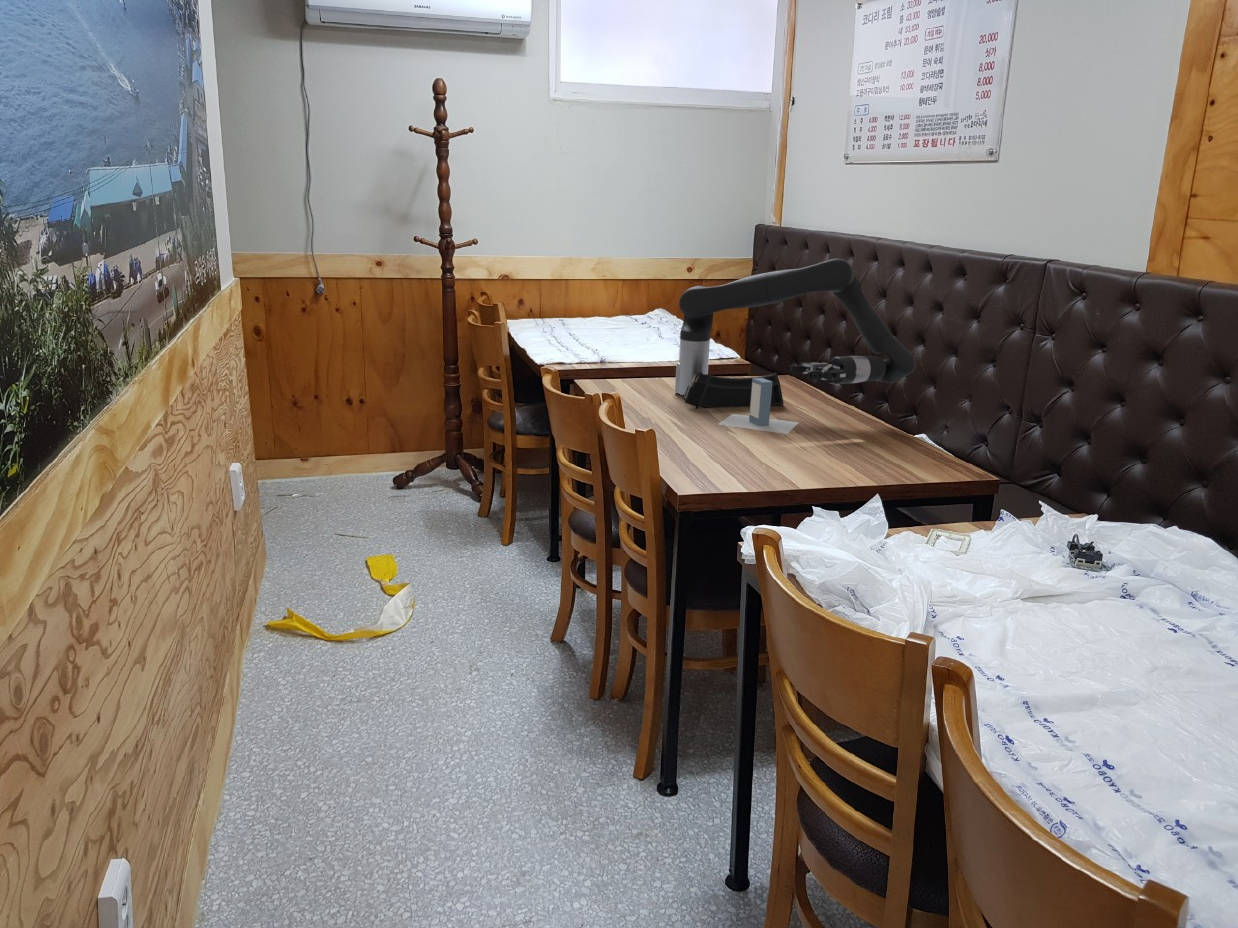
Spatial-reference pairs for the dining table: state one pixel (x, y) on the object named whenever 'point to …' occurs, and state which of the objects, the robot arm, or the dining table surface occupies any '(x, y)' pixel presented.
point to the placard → (760, 401)
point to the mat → (743, 422)
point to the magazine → (727, 391)
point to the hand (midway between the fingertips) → (799, 372)
